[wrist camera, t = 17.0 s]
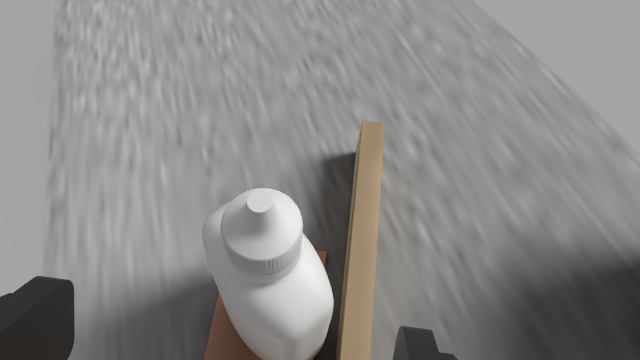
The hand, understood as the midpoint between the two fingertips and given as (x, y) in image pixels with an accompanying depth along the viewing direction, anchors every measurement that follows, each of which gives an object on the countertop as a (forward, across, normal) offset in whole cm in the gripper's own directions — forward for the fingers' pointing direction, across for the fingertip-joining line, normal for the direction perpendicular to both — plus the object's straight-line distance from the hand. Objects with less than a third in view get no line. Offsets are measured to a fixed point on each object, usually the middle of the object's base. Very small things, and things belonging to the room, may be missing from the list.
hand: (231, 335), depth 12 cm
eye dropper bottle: (+11, 0, +6) cm, 12 cm away
